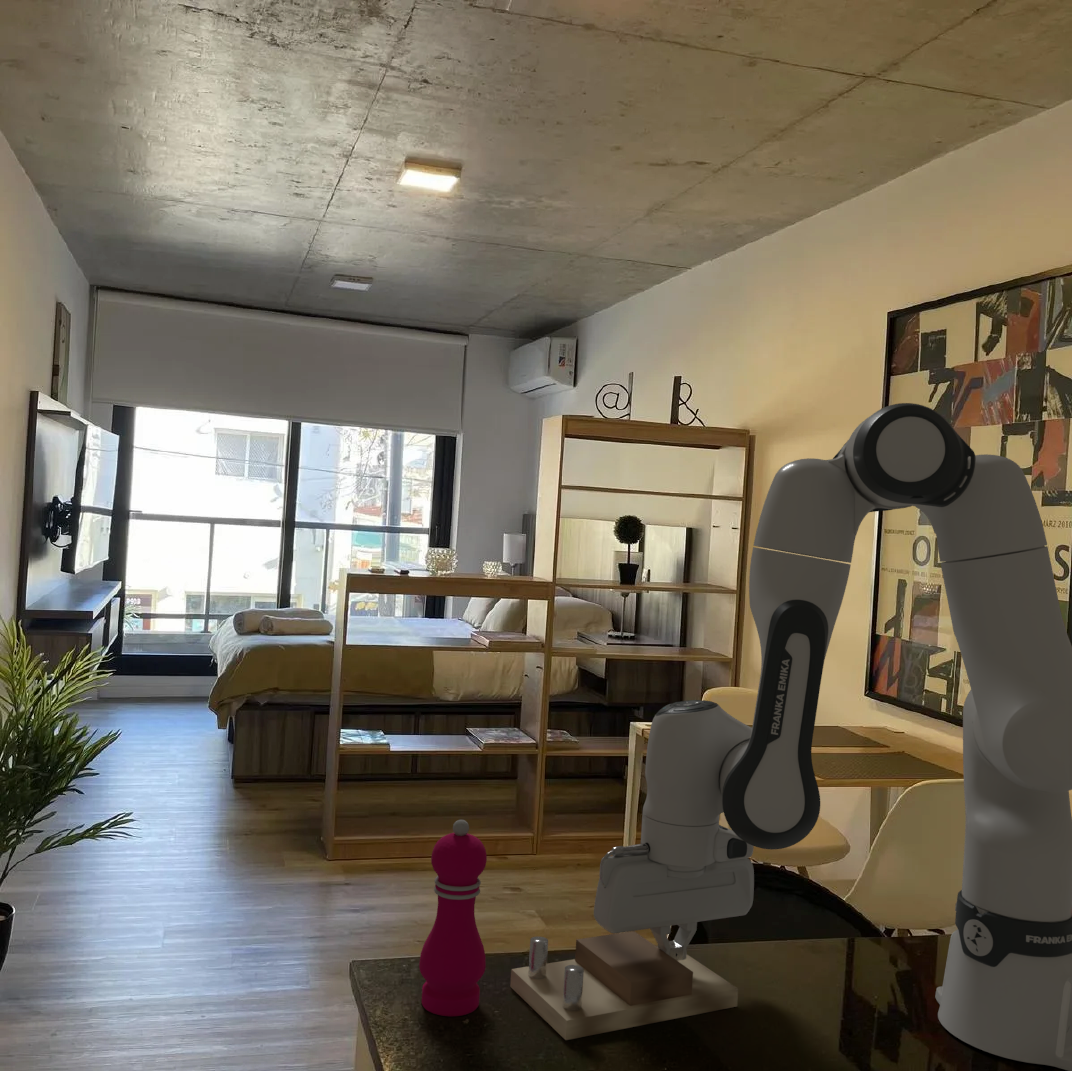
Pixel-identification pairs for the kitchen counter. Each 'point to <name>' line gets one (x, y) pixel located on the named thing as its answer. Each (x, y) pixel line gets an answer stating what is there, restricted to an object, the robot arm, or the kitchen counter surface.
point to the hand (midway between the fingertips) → (671, 959)
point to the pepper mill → (454, 927)
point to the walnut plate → (633, 968)
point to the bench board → (607, 996)
